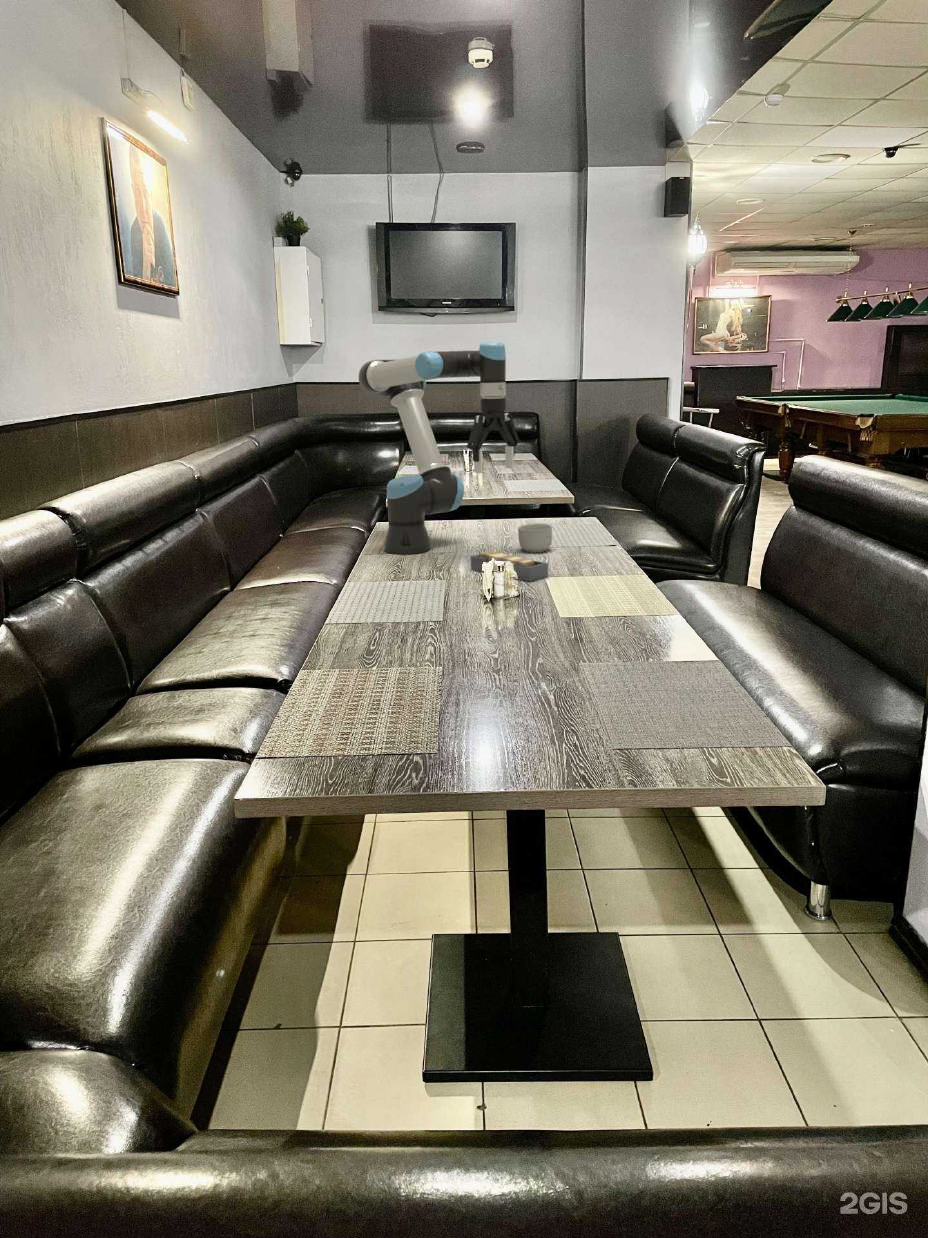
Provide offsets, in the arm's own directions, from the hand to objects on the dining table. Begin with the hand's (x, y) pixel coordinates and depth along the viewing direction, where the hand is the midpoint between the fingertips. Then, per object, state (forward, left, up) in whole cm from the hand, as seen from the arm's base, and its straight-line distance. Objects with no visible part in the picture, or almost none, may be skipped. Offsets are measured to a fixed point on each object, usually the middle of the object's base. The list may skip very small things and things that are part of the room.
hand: (494, 470), depth 263 cm
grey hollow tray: (+26, -13, -27) cm, 39 cm away
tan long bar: (+17, -13, -27) cm, 34 cm away
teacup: (+2, +16, -27) cm, 31 cm away
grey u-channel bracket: (+9, -13, -27) cm, 31 cm away
